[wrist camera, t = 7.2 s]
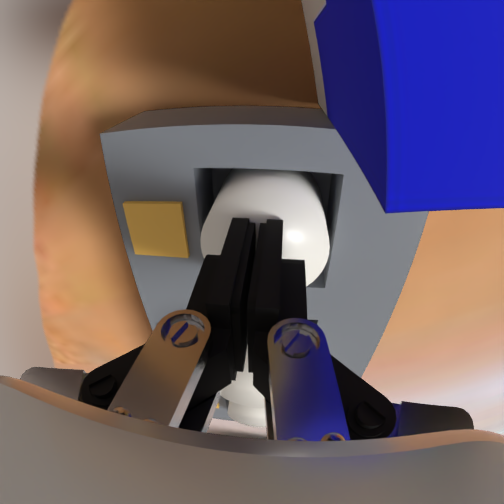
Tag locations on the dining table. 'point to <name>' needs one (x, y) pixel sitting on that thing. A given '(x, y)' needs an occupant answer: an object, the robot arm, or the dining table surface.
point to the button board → (207, 188)
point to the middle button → (243, 389)
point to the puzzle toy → (415, 96)
